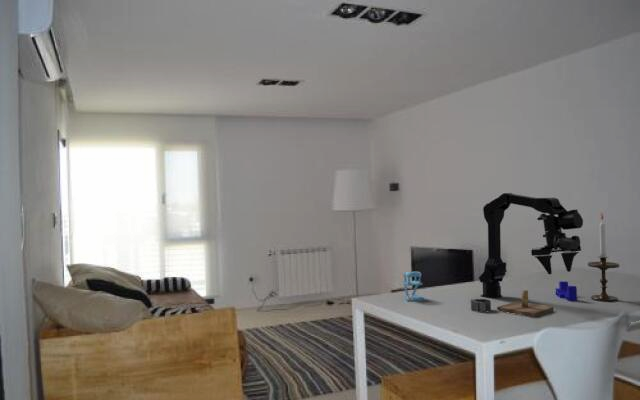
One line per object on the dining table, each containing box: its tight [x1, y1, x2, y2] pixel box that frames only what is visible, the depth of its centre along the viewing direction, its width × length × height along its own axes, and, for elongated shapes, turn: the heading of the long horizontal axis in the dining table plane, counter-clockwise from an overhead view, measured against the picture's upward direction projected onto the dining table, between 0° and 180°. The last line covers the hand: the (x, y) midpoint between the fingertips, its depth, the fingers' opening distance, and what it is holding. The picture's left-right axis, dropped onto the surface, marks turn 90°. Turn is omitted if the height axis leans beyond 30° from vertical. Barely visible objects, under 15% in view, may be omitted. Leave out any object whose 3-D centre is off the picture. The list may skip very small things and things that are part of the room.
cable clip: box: [555, 280, 578, 302], centre depth 197 cm, size 12×4×6 cm, turn 170°
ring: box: [470, 298, 492, 313], centre depth 180 cm, size 7×7×4 cm
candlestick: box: [587, 212, 620, 303], centre depth 192 cm, size 11×11×35 cm
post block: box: [496, 289, 554, 318], centre depth 177 cm, size 14×14×8 cm
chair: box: [402, 271, 426, 302], centre depth 203 cm, size 8×8×12 cm
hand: (559, 273), depth 177 cm, fingers open, 9 cm apart
